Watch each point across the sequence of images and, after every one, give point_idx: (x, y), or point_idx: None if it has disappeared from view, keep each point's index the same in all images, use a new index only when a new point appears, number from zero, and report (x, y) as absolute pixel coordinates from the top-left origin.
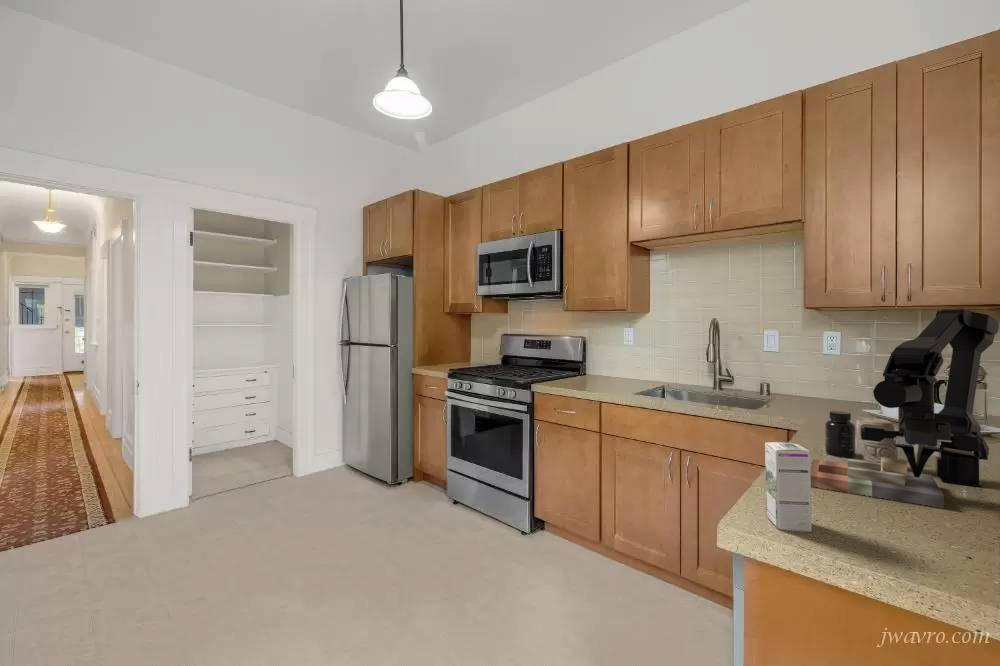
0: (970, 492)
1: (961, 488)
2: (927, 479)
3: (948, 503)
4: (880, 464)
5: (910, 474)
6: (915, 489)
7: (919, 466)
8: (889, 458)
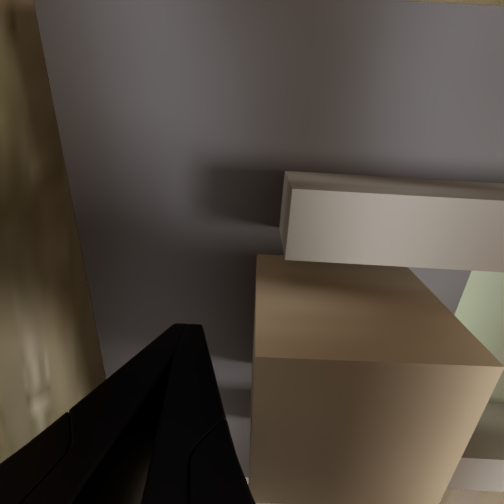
0: (17, 401)
1: None
2: None
3: None
4: None
5: None
6: (226, 85)
7: (141, 385)
8: (370, 498)
